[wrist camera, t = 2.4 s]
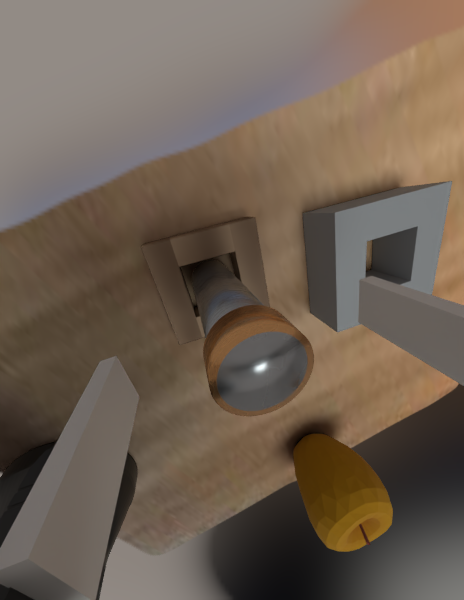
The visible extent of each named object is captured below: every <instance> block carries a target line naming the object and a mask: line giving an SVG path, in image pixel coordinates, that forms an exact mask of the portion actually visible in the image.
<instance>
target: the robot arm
mask: <svg viewBox="0 0 464 600" xmlns="http://www.w3.org/2000/svg"><path fill="white" fill-rule="evenodd" d="M358 322H359V323H361V324H362V325H364V326H366V327H367V328H369V329H370V330H372V331H374V332H375V333H377V334H379V335H380V336H382V337H384V338H385V339H387V340H389V341H390V342H392V343H394V344H395V345H397V346H399V347H400V348H402V349H404V350H405V351H407V352H409V353H410V354H412V355H413V356H415V357H417V358H418V359H420V360H422V361H423V362H425V363H427V364H428V365H430V366H432V367H433V368H435V369H437V370H438V371H440V372H442V373H443V374H445V375H447V376H448V377H450V378H452V379H453V380H455V381H456V382H458V383H460V384H461V385H463V386H464V305H461V304H457V303H454V302H451V301H448V300H445V299H442V298H439V297H436V296H433V295H430V294H426V293H423V292H420V291H417V290H414V289H411V288H408V287H405V286H402V285H399V284H395V283H392V282H389V281H386V280H383V279H380V278H377V277H374V276H370V277H366V278H363V279H360V280H359V314H358ZM138 401H139V395H138V393H137V391H136V390H135V388H134V386H133V384H132V382H131V381H130V379H129V377H128V375H127V373H126V372H125V370H124V368H123V366H122V365H121V363H120V361H119V359H118V357H117V356H115V357H111V358H108V359H105V360H102V361H100V362H99V364H98V366H97V368H96V370H95V372H94V373H93V375H92V377H91V379H90V381H89V383H88V385H87V387H86V388H85V390H84V392H83V394H82V396H81V398H80V400H79V402H78V403H77V405H76V407H75V409H74V411H73V413H72V415H71V416H70V418H69V420H68V422H67V424H66V426H65V428H64V430H63V431H62V433H61V435H60V437H59V439H58V441H57V442H55V443H51V444H47V445H44V446H41V447H38V448H36V449H33V450H31V451H29V452H27V453H25V454H23V455H22V456H20V457H19V458H17V459H16V460H15V461H14V462H12V463H11V464H10V465H9V466H8V467H7V469H6V470H5V471H4V473H3V474H2V476H1V477H0V600H99V598H100V592H101V587H102V582H103V577H104V572H105V568H106V563H107V559H108V557H109V554H110V552H111V549H112V547H113V545H114V542H115V540H116V538H117V535H118V533H119V531H120V528H121V526H122V524H123V521H124V519H125V516H126V514H127V511H128V509H129V507H130V505H131V503H132V500H133V497H134V493H135V487H136V481H137V467H136V464H135V462H134V460H133V459H132V457H131V456H130V455H129V454H127V452H128V447H129V443H130V438H131V433H132V429H133V424H134V419H135V415H136V410H137V405H138Z"/></svg>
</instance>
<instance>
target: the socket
mask: <svg viewBox="0 0 464 600" xmlns="http://www.w3.org/2000/svg"><path fill="white" fill-rule="evenodd" d="M451 185H452V181H448V182H440V183H432V184H424V185H416V186H408V187H400V188H396V189H393V190H389V191H385V192H381V193H377V194H374V195H370V196H366V197H362V198H359V199H355V200H351V201H347V202H343V203H340V204H336V205H332V206H328V207H325V208H321V209H317V210H313V211H309V212H306V213H303V225H304V237H305V250H306V262H307V275H308V287H309V300H310V312H311V314H313V315H314V316H315V317H317V318H318V319H320V320H321V321H322V322H324V323H325V324H326V325H328V326H329V327H331V328H332V329H333V330H335V331H336V332H340V331H343V330H346V329H348V328H351V327H354V326H357V325H360V324H361V323H359V322H358V314H359V280H360V279H363V278H366V277H370V276H374V277H377V278H380V279H383V280H386V281H389V282H392V283H395V284H399V285H402V286H405V287H408V288H411V289H414V290H417V291H420V292H423V293H426V294H430V295H432V291H433V286H434V280H435V274H436V269H437V263H438V258H439V252H440V246H441V241H442V235H443V230H444V224H445V218H446V213H447V207H448V202H449V196H450V190H451ZM370 240H373V250H372V270H370V271H367V272H366V247H367V241H370Z"/></svg>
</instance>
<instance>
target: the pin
mask: <svg viewBox="0 0 464 600" xmlns="http://www.w3.org/2000/svg"><path fill="white" fill-rule="evenodd" d="M191 279H192V285H193V289H194V293H195V297H196V301H197V305H198V310H199V314H200V318H201V322H202V326H203V330H204V334H205V338H206V339H205V342H204V347H203V356H204V362H205V367H206V372H207V377H208V382H209V387H210V391H211V394H212V397H213V399H214V400H215V402H216V403H217V404H218V405H219V406H220V407H221V408H223V409H224V410H226V411H228V412H230V413H232V414H235V415H240V416H257V415H262V414H266V413H269V412H272V411H274V410H277V409H279V408H281V407H282V406H284V405H286V404H287V403H288V402H290V401H291V400H292V399H293V398H295V397H296V396H297V395H298V394H299V393H300V391H301V390H302V389H303V388H304V386H305V385H306V383H307V381H308V380H309V378H310V375H311V373H312V369H313V364H314V354H313V349H312V346H311V344H310V342H309V341H308V339H307V338H306V337H305V336H304V335H303V334H302V333H301V332H300V331H299V330H298V329H297V328H296V327H295V326H294V325H292V324H291V323H290V322H289V321H288V320H287V319H286V318H285V317H284V316H283V315H282V314H281V313H279V312H278V311H276V310H275V309H273V308H270V307H267V306H264V305H263V304H262V303H261V302H260V301H259V300H258V299H257V298H256V297H255V296H254V295H253V293H252V292H251V291H250V290H249V289H248V288H247V287H246V286H245V285H244V284H243V283H242V282H241V281H240V280H239V279H238V278H237V277H236V276H235V275H234V274H233V273H232V272H231V271H230V270H229V269H228V268H227V267H226V266H225V265H224V264H223V263H221V262H220V261H217V260H212V259H210V260H205V261H202V262H201V263H199V264H198V265H197V266H196V267H195V268H194V270H193V273H192V278H191Z"/></svg>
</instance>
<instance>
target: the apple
mask: <svg viewBox="0 0 464 600" xmlns="http://www.w3.org/2000/svg"><path fill="white" fill-rule="evenodd" d="M293 458H294V466H295V474H296V478H297V481H298V485H299V488H300V492H301V495H302V498H303V501H304V504H305V507H306V510H307V513H308V516H309V519H310V521H311V523H312V525H313V527H314V529H315V531H316V532H317V535H318V536H319V538H320V539H321V540H322V541H323V542H324V544H325V545H326V546H327V547H328V548H330V549H333V550H336V551H352V550H355V549H359V548H361V547H363V546H364V545H366V544H368V545H370V542H371V541H372V540H374V539H376V538H377V537H379V536H380V535H381V534H383V533H384V532H385V531H386V530H387V529H388V528H389V527H390V525H391V524H392V515H393V510H392V506H391V503H390V500H389V496H388V493H387V491H386V489H385V487H384V486H383V484H382V482H381V480H380V478H379V477H378V476H377V475H376V473H375V472H374V471H373V469H372V468H371V467H370V466H369V465H368V464H367V463H366V462H365V460H364V459H363V458H362V457H360V456H359V455H358V454H357V453H356V452H354V451H353V450H352V449H351V448H349V447H348V446H346V445H344V444H343V443H341V442H339V441H337V440H335V439H334V438H332V437H330V436H328V435H325V434H310V435H307V436H305V437H303V438H302V439H301V440H300V441H299V442H298V444H297V445H296V446H295V447H294V453H293Z"/></svg>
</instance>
